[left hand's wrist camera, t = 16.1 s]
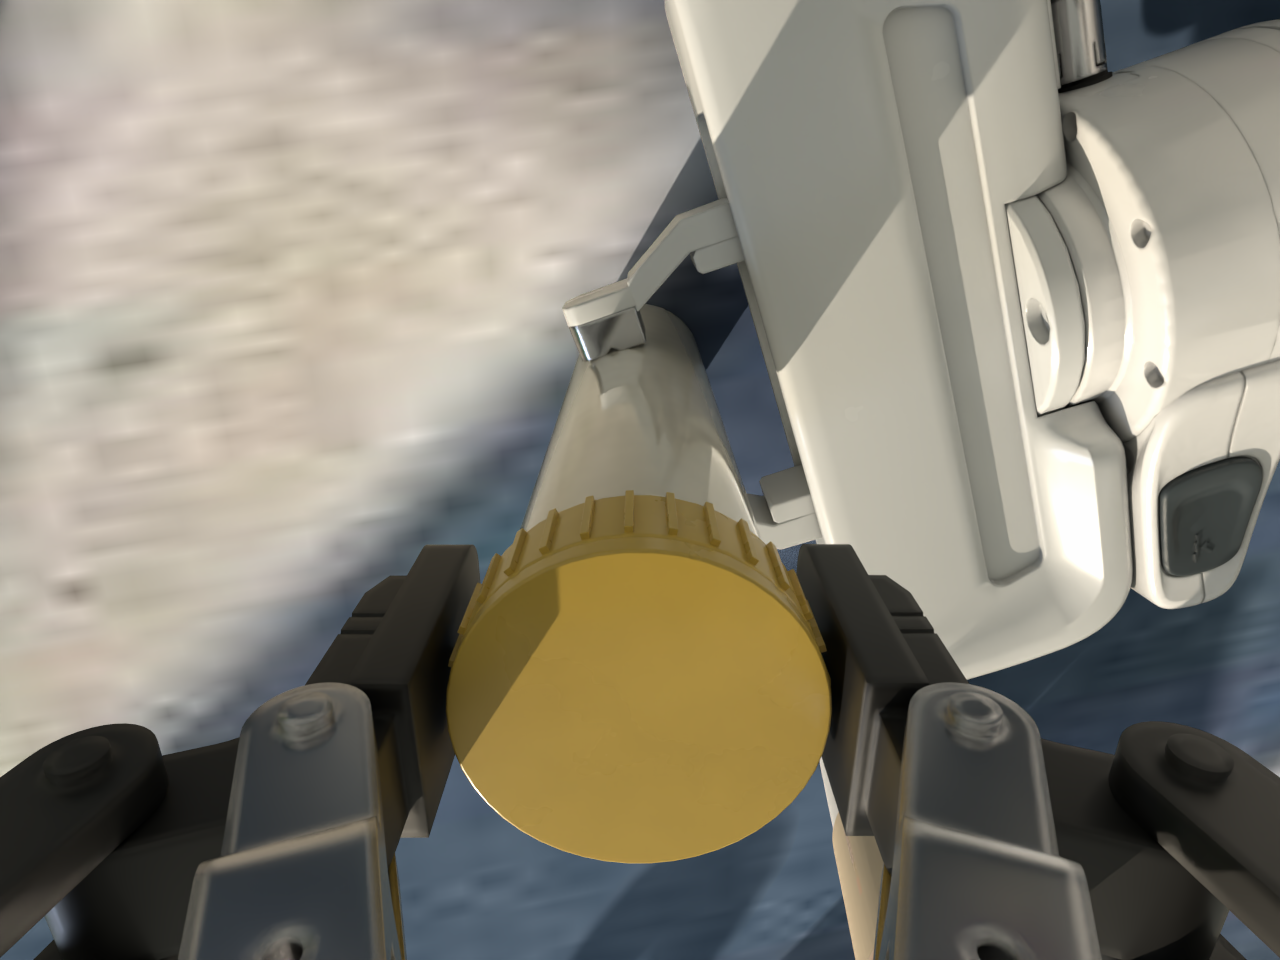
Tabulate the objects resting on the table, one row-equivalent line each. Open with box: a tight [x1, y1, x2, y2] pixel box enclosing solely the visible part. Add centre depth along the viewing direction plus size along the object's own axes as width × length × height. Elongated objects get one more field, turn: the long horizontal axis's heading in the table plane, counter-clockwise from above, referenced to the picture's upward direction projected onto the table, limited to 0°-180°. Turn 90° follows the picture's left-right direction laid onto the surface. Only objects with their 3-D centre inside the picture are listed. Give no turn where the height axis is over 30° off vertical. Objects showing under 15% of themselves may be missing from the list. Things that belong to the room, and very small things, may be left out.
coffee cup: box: [820, 756, 884, 960], centre depth 26 cm, size 9×9×15 cm
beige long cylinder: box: [520, 304, 762, 540], centre depth 18 cm, size 4×4×18 cm
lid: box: [446, 490, 832, 863], centre depth 10 cm, size 5×5×2 cm
